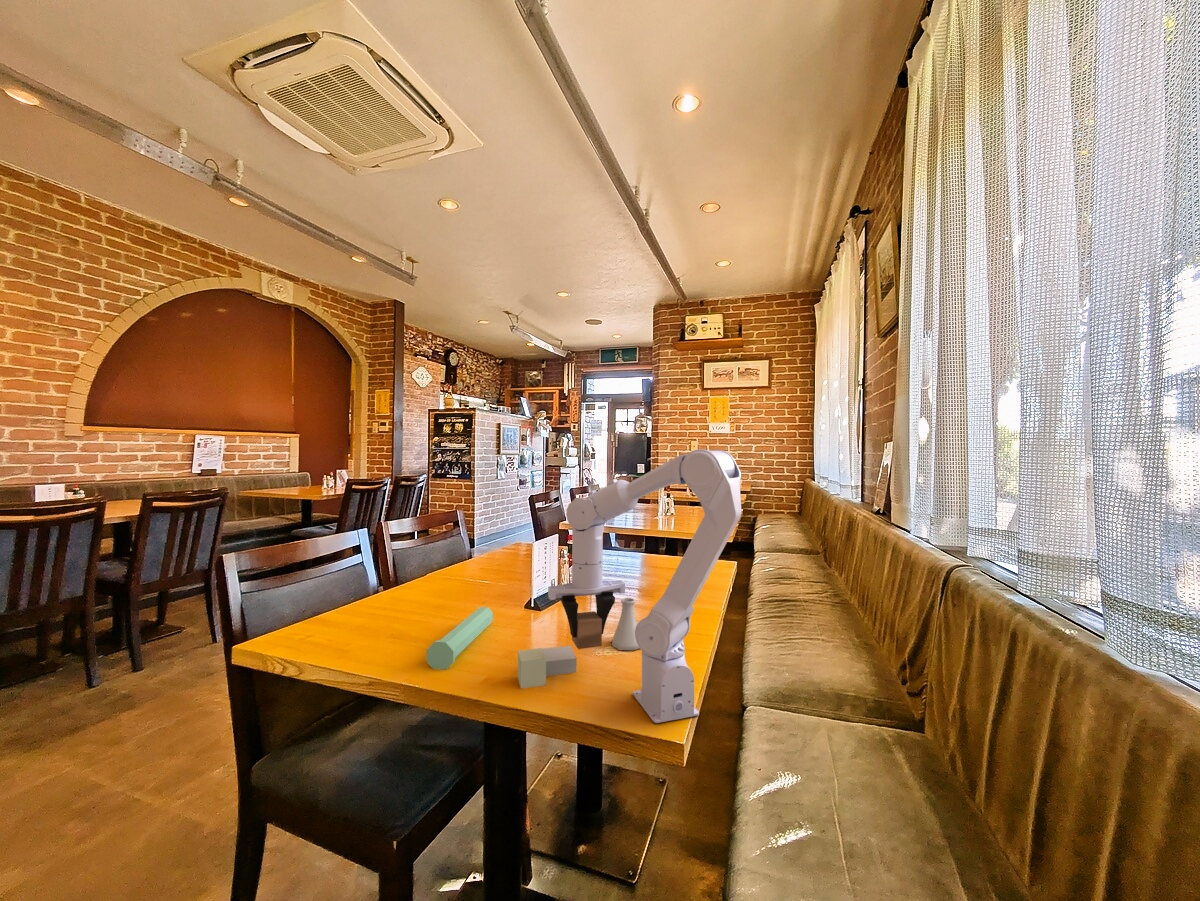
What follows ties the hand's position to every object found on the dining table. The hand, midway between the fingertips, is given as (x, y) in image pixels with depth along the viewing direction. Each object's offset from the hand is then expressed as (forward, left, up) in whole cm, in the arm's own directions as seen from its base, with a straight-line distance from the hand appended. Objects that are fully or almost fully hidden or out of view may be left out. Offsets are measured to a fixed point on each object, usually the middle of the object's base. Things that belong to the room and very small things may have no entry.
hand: (586, 633), depth 87 cm
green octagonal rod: (+23, +21, -9) cm, 32 cm away
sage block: (+2, +10, -8) cm, 13 cm away
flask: (+12, -13, -9) cm, 20 cm away
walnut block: (0, 0, -2) cm, 2 cm away
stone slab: (+6, +4, -9) cm, 11 cm away
